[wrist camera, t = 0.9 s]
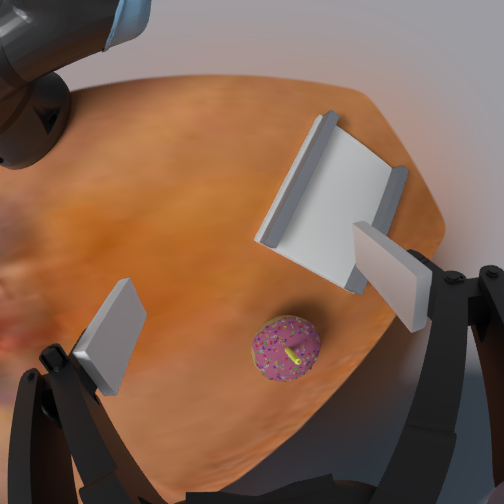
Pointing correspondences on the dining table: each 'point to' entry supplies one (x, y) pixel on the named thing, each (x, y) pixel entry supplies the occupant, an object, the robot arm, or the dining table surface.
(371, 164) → the rail board
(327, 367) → the dining table surface
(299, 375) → the cupcake
